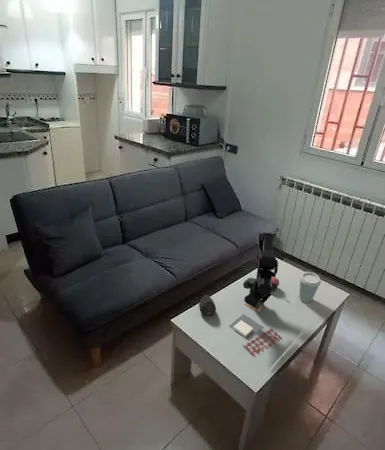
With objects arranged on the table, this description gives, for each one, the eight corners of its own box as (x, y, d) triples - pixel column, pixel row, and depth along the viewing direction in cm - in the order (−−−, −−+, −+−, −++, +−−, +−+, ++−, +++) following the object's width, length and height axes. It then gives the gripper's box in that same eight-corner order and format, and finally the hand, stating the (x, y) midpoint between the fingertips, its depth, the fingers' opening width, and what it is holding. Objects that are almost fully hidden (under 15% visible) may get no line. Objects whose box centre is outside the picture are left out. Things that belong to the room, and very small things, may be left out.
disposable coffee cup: (315, 308, 162) (322, 285, 155) (294, 302, 165) (300, 280, 158) (314, 295, 171) (321, 273, 164) (294, 290, 174) (300, 269, 167)
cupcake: (280, 291, 173) (285, 273, 167) (268, 294, 170) (271, 276, 164) (272, 282, 180) (275, 265, 174) (259, 284, 177) (263, 267, 171)
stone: (212, 315, 156) (213, 295, 158) (218, 317, 149) (219, 296, 151) (197, 315, 154) (198, 294, 155) (202, 317, 146) (204, 295, 148)
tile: (241, 320, 148) (233, 326, 144) (253, 328, 144) (245, 334, 140) (240, 322, 149) (233, 328, 145) (252, 330, 145) (245, 337, 141)
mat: (243, 314, 155) (243, 313, 154) (263, 328, 147) (263, 327, 147) (228, 327, 147) (228, 326, 146) (249, 341, 139) (249, 340, 139)
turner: (249, 301, 149) (250, 291, 147) (262, 309, 145) (264, 299, 142) (244, 304, 147) (246, 295, 144) (257, 313, 142) (259, 303, 140)
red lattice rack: (241, 348, 137) (241, 345, 136) (270, 330, 147) (270, 327, 146) (252, 359, 132) (253, 356, 131) (281, 340, 142) (282, 337, 141)
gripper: (260, 264, 147) (255, 290, 155) (236, 280, 135) (232, 307, 142) (280, 275, 141) (274, 301, 148) (257, 293, 129) (252, 320, 136)
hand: (258, 307), depth 144 cm, fingers closed on turner, 3 cm apart
